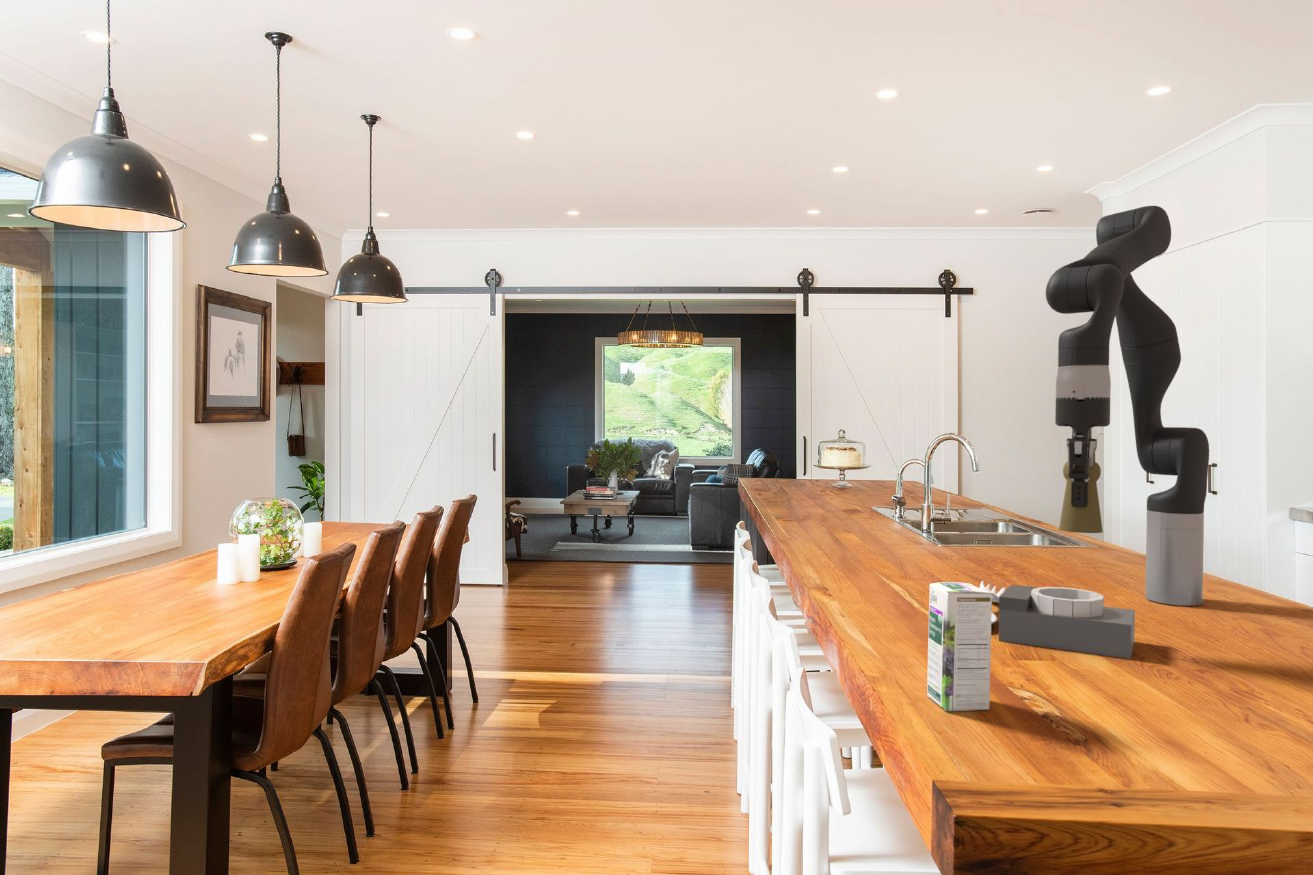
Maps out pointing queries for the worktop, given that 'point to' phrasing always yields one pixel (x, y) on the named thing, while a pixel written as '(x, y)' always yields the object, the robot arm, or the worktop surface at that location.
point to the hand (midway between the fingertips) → (1080, 505)
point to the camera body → (1065, 621)
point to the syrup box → (959, 646)
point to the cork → (1077, 516)
